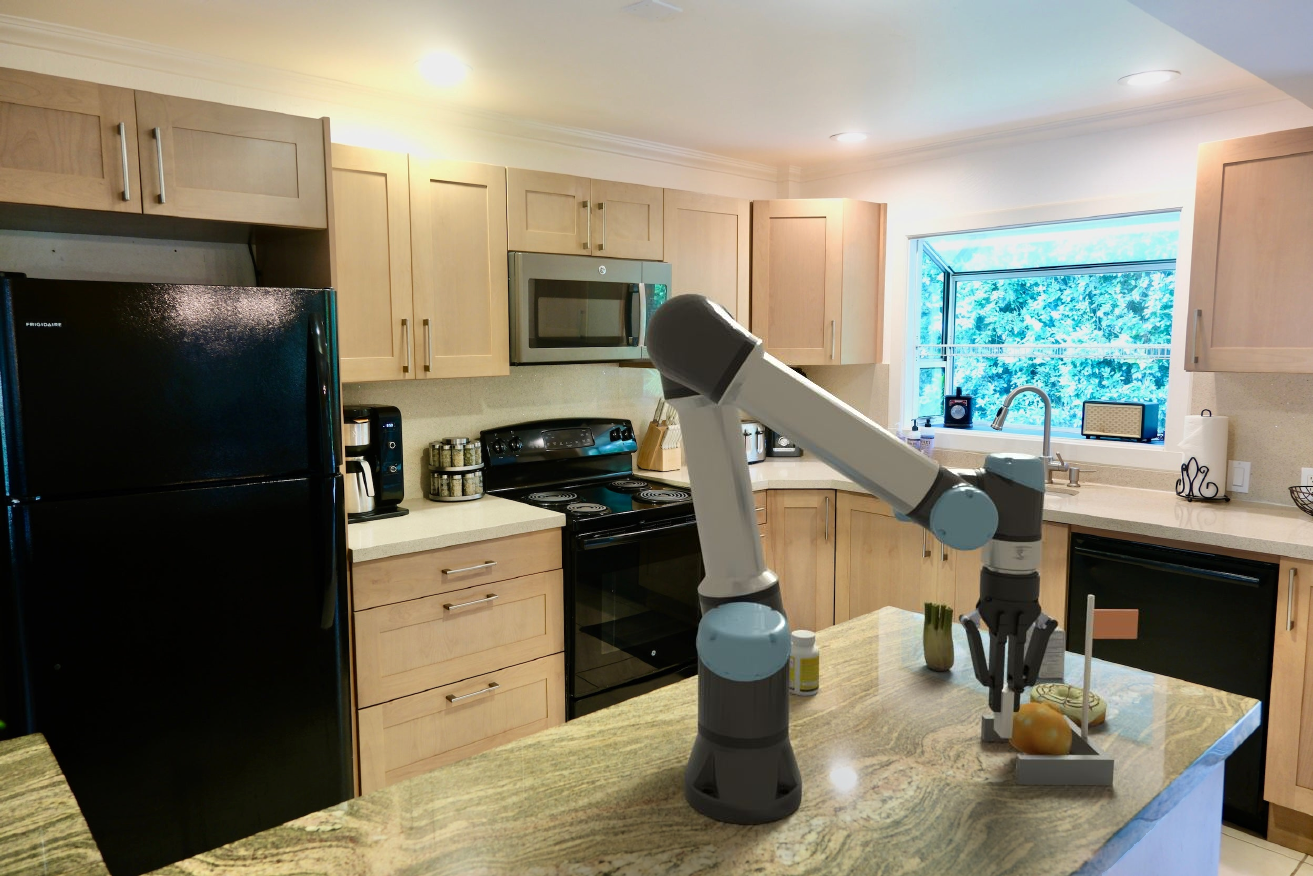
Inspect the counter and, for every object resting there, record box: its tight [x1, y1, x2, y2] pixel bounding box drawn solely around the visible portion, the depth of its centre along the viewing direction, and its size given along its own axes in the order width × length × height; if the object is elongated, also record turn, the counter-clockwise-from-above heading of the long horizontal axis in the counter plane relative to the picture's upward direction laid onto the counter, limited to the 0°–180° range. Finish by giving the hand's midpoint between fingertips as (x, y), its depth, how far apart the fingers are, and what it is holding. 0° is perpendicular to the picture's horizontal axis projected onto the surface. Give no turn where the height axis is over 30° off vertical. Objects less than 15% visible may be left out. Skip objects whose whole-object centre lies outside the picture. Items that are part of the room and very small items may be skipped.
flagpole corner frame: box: [980, 594, 1139, 786], centre depth 114 cm, size 18×13×24 cm
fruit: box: [1008, 701, 1072, 755], centre depth 115 cm, size 8×8×8 cm
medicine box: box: [1024, 622, 1066, 680], centre depth 148 cm, size 8×4×9 cm, turn 179°
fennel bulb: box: [922, 600, 955, 672], centre depth 149 cm, size 6×5×12 cm
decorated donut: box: [1029, 682, 1108, 727], centre depth 130 cm, size 10×11×4 cm
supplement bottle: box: [789, 629, 820, 697], centre depth 139 cm, size 5×5×10 cm
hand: (1002, 733), depth 115 cm, fingers closed
